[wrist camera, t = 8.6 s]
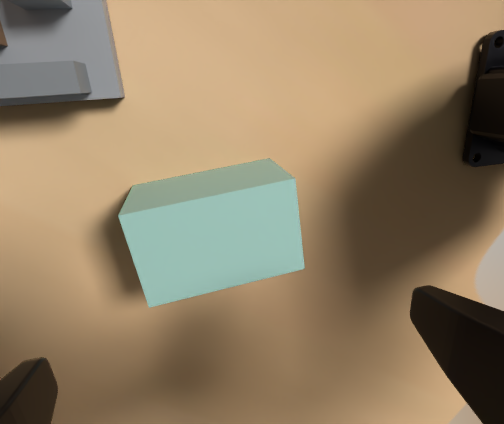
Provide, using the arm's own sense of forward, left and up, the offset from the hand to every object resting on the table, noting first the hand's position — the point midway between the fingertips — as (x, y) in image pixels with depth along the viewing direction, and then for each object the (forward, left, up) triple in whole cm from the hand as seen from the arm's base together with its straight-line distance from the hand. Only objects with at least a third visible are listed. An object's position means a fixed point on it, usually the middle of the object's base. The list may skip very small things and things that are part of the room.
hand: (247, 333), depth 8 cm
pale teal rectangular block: (0, 0, -9) cm, 9 cm away
